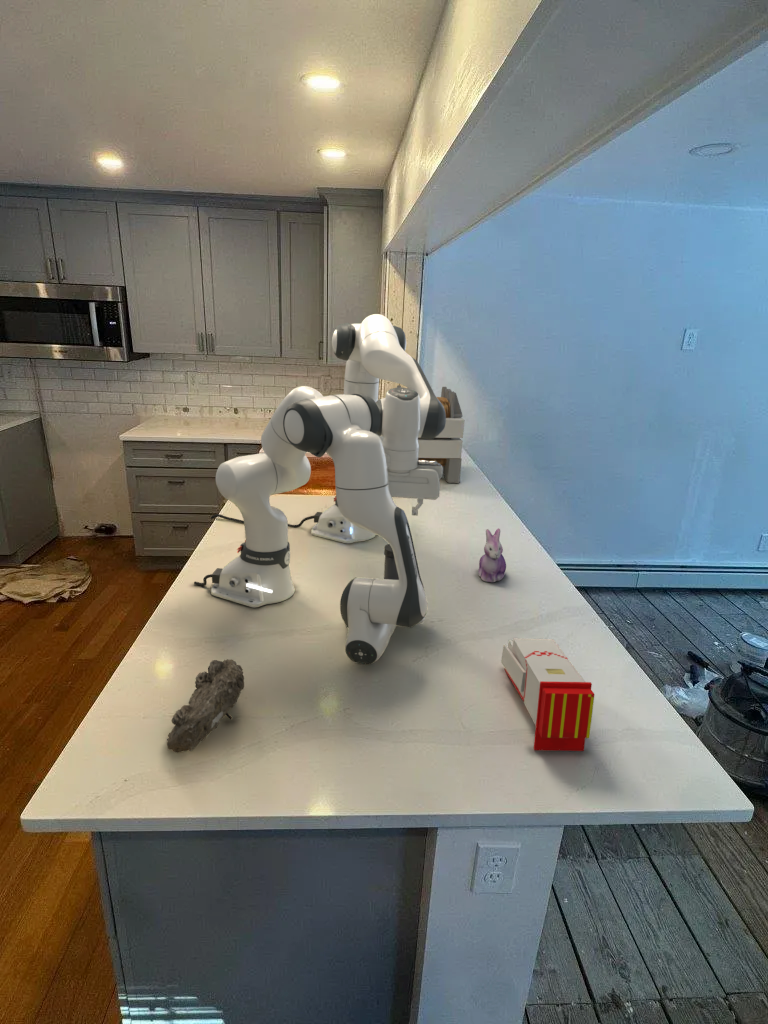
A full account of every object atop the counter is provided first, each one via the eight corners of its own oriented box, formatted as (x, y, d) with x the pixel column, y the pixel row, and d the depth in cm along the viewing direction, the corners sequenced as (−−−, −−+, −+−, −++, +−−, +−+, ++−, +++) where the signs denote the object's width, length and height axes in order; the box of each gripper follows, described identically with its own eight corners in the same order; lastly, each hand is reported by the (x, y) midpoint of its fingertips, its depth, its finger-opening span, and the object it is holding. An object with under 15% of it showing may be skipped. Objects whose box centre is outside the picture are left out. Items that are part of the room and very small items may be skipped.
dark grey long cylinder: (378, 610, 149) (381, 547, 143) (393, 606, 151) (397, 544, 145) (388, 618, 145) (392, 554, 139) (403, 613, 148) (407, 550, 142)
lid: (379, 552, 143) (380, 545, 143) (397, 548, 146) (397, 542, 145) (391, 560, 139) (392, 553, 139) (409, 556, 142) (409, 549, 141)
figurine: (489, 586, 164) (495, 538, 159) (468, 571, 173) (473, 526, 168) (514, 580, 169) (521, 533, 163) (493, 566, 177) (498, 521, 172)
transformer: (382, 463, 289) (386, 382, 275) (445, 464, 293) (451, 384, 279) (390, 482, 257) (394, 392, 243) (460, 483, 261) (468, 394, 247)
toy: (549, 621, 128) (604, 690, 99) (544, 676, 131) (595, 758, 101) (496, 620, 128) (535, 688, 98) (492, 675, 130) (528, 757, 101)
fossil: (192, 660, 117) (244, 628, 112) (224, 691, 120) (276, 661, 115) (142, 746, 98) (202, 712, 93) (182, 779, 101) (242, 748, 96)
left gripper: (423, 612, 131) (433, 586, 144) (339, 598, 136) (356, 574, 148) (421, 636, 133) (431, 608, 146) (339, 621, 138) (355, 595, 150)
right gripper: (443, 458, 137) (438, 512, 141) (359, 452, 138) (357, 506, 143) (443, 465, 131) (439, 521, 135) (355, 459, 132) (354, 515, 137)
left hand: (393, 591), depth 147 cm, fingers closed on dark grey long cylinder, 5 cm apart
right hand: (396, 513), depth 139 cm, fingers open, 7 cm apart
